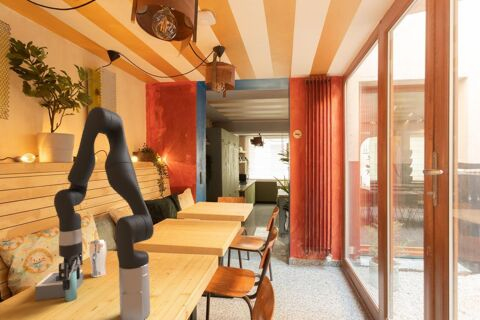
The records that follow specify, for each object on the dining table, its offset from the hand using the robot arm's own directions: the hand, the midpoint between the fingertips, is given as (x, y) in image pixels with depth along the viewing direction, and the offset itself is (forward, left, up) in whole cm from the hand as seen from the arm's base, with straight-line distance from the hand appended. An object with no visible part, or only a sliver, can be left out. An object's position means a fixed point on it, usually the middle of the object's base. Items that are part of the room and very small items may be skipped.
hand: (71, 284), depth 101 cm
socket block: (+7, +7, -5) cm, 12 cm away
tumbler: (+20, -3, -6) cm, 21 cm away
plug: (-1, 0, -5) cm, 5 cm away
